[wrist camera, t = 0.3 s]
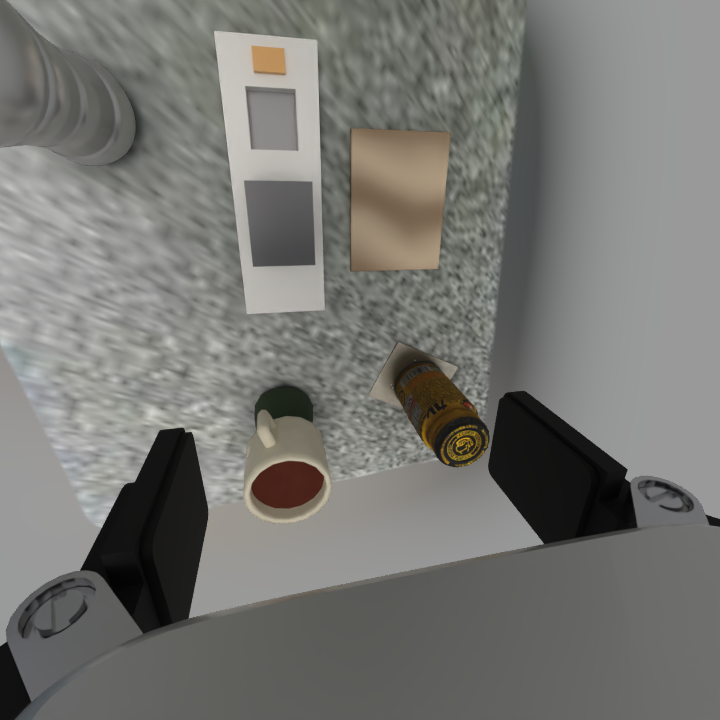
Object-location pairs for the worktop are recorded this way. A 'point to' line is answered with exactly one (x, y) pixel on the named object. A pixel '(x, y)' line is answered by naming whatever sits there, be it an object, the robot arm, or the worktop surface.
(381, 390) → the condiment
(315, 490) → the character mug
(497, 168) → the worktop surface
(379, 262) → the cork pad
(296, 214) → the block
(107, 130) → the plastic bottle
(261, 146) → the power strip
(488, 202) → the worktop surface
